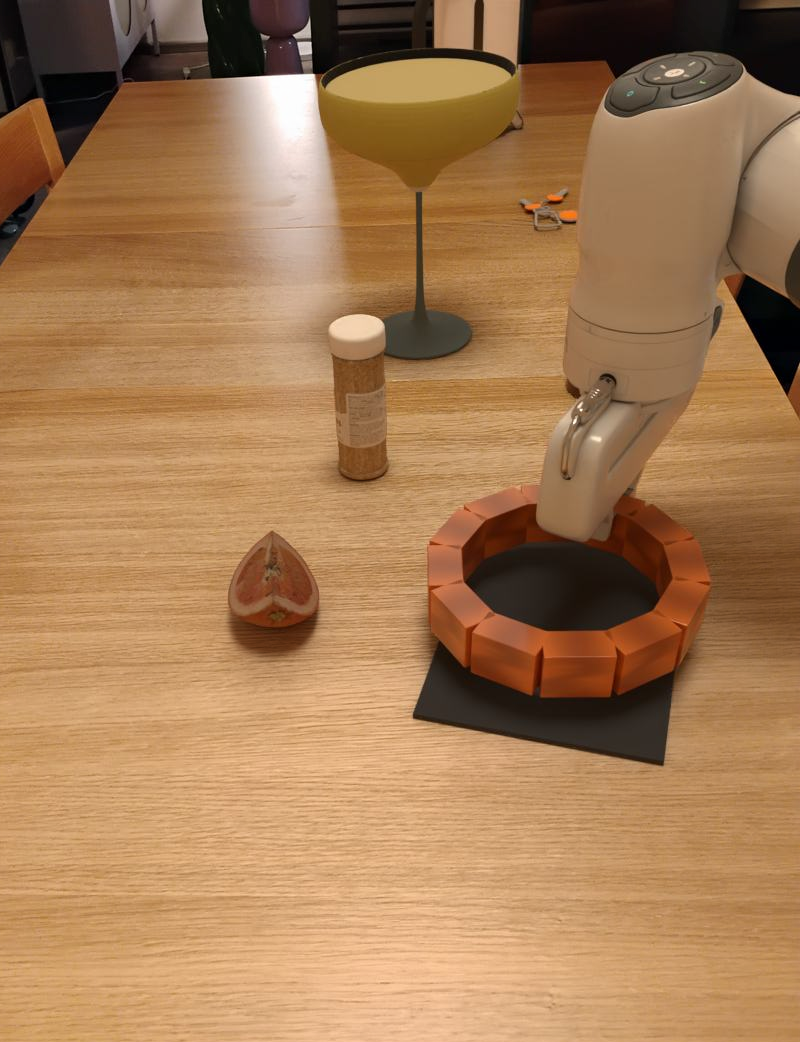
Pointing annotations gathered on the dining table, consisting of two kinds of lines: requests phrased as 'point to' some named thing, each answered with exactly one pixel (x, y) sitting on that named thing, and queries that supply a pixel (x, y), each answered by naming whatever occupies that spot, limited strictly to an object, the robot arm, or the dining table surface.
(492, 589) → the mat
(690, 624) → the ring
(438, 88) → the cocktail glass
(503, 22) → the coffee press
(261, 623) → the fruit slice
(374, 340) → the sprinkles bottle
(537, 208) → the key chain
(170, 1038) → the dining table surface
